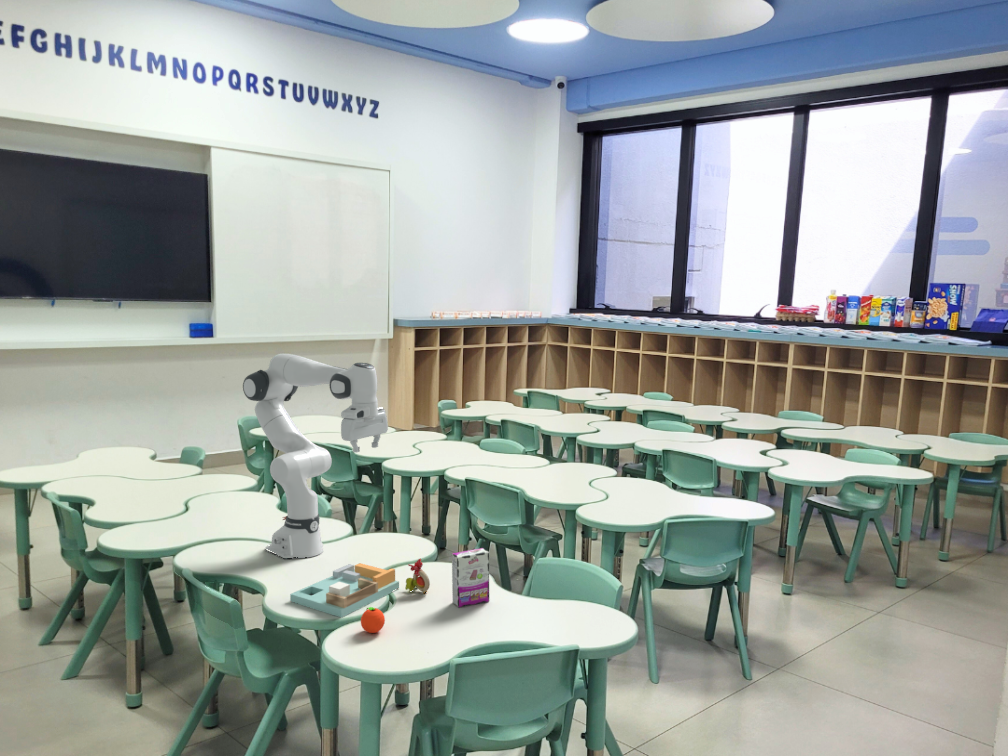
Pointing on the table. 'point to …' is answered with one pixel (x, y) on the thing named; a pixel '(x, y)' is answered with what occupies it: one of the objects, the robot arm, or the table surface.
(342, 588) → the cube
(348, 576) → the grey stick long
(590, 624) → the table surface
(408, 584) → the bird rattle
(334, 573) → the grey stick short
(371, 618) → the clementine
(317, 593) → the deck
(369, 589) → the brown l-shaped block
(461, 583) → the candy bar box
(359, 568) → the rake
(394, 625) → the table surface
